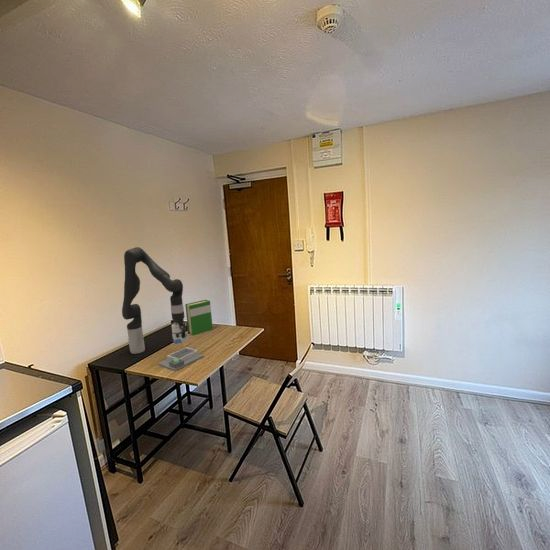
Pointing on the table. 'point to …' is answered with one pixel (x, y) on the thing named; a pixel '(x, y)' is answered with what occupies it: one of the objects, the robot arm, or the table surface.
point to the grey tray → (181, 358)
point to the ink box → (178, 334)
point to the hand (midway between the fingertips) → (180, 336)
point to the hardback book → (199, 317)
